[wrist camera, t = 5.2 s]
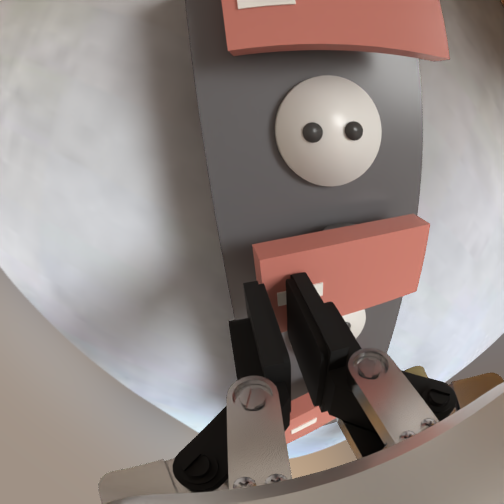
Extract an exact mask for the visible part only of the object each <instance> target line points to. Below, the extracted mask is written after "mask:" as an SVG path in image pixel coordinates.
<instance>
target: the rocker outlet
mask: <svg viewBox="0 0 504 504" xmlns="http://www.w3.org/2000/svg"><path fill="white" fill-rule="evenodd" d="M335 418H336V417H334V416H331V415H329V413H328V411H326V412H323V413H321V410H320V408H319V406H315V407H314V405H313V403H312V400H311V398H310V395H309V392H308V393H306V394H304V395H302V396H300V397H298V398H296V399H294V400H292V401H291V413H290V425H289V427H288V428H287V429H286V431H285V438H286V444H287V443H290V442H292V441H294V440H296V439H298V438H300V437H302V436H304V435H306V434H308V433H310V432H312V431H314V430H315V429H317V428H319V427H321V426H323V425H325V424H326V423H328V422H330V421H332V420H333V419H335Z"/></svg>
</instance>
